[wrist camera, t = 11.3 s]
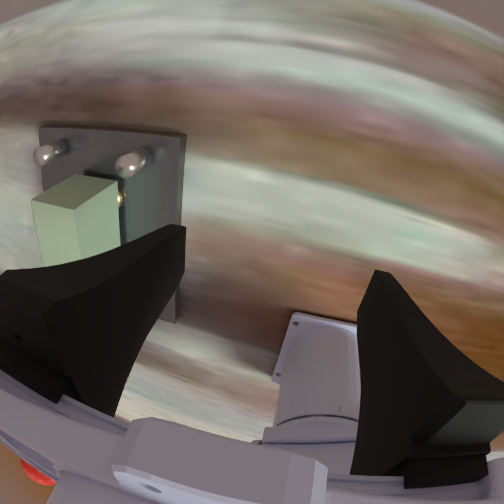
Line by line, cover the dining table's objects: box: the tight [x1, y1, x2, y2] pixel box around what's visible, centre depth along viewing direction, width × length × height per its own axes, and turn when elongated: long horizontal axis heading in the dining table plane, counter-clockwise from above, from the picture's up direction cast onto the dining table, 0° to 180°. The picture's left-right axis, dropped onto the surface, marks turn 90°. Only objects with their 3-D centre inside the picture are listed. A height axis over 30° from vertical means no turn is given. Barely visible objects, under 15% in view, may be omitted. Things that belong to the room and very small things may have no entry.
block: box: [31, 174, 121, 267], centre depth 21 cm, size 9×4×5 cm, turn 171°
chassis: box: [33, 125, 187, 323], centre depth 23 cm, size 16×13×4 cm
